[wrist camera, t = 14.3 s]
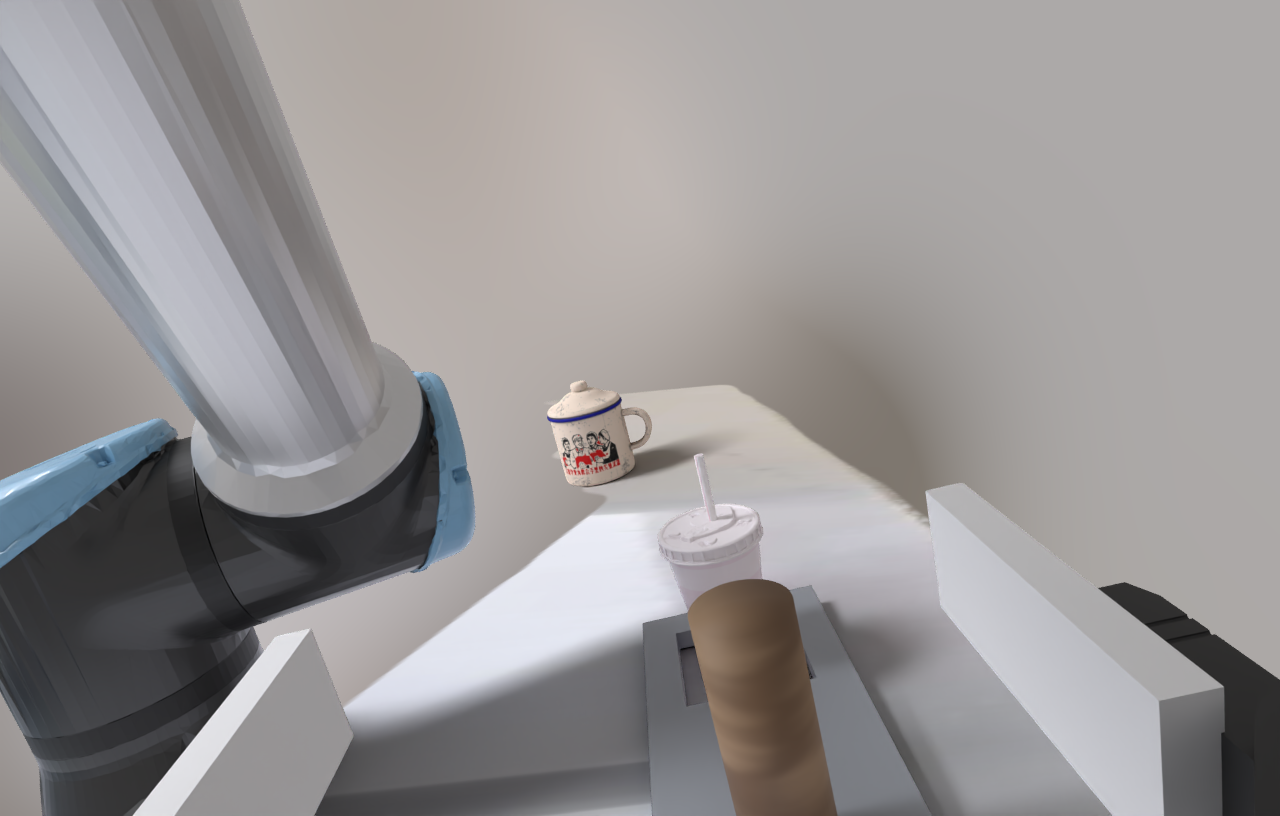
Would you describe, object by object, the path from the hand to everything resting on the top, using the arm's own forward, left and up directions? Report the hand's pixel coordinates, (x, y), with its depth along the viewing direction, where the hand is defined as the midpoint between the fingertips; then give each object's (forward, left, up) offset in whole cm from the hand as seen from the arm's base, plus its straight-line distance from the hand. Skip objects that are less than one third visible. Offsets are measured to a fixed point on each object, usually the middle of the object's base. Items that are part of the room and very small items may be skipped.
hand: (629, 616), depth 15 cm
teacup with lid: (-6, +70, -20) cm, 73 cm away
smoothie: (+3, +27, -20) cm, 34 cm away
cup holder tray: (+3, +20, -20) cm, 28 cm away
